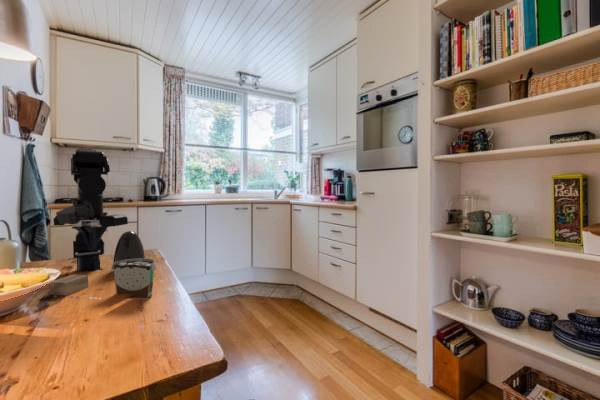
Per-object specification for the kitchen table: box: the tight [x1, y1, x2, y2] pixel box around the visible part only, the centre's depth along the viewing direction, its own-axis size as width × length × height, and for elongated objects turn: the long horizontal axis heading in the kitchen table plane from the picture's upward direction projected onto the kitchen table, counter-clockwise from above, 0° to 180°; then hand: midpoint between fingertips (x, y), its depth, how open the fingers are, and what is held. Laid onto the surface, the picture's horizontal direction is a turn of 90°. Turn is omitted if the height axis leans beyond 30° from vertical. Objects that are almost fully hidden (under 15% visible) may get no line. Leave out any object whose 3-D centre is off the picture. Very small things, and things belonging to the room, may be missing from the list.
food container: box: [110, 258, 158, 300], centre depth 83 cm, size 12×6×10 cm, turn 85°
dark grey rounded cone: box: [112, 230, 146, 263], centre depth 104 cm, size 10×10×15 cm
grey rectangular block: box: [49, 274, 89, 296], centre depth 83 cm, size 5×7×4 cm
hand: (92, 250), depth 82 cm, fingers closed
